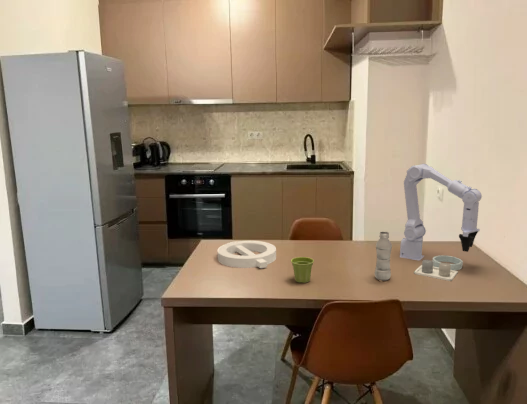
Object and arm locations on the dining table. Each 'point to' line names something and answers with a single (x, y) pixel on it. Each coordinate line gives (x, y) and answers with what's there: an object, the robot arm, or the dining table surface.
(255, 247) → the white circle with bar
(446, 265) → the grey rounded cylinder
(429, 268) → the slate capsule
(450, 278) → the parts tray
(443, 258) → the bowl
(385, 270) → the plastic bottle
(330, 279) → the dining table surface
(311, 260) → the plant pot
